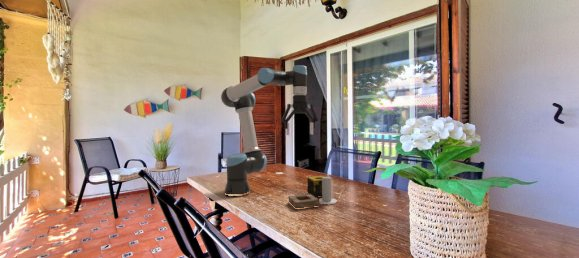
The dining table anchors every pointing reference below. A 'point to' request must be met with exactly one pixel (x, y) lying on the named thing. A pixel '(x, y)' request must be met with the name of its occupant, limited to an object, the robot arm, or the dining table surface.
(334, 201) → the white round domed part
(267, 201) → the dining table surface
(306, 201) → the socket block
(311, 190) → the candle
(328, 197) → the beverage can
